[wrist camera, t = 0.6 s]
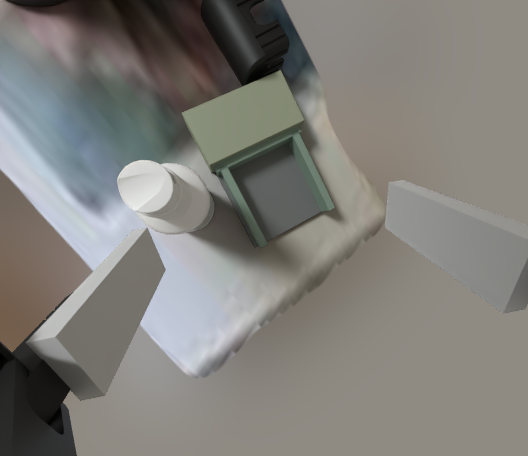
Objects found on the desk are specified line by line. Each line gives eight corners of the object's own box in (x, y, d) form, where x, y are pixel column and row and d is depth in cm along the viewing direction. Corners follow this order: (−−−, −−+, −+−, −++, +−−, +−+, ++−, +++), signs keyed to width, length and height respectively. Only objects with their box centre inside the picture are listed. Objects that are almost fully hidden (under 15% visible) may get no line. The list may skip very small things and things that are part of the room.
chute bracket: (187, 128, 32) (181, 112, 27) (273, 90, 34) (280, 70, 29) (251, 248, 34) (255, 252, 29) (329, 206, 36) (344, 203, 31)
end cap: (202, 37, 32) (196, -12, 25) (244, 16, 33) (248, -37, 26) (241, 99, 33) (245, 68, 26) (280, 77, 34) (294, 41, 27)
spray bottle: (222, 217, 33) (218, 210, 15) (179, 239, 32) (120, 258, 14) (200, 175, 32) (169, 115, 14) (155, 196, 31) (63, 159, 14)
